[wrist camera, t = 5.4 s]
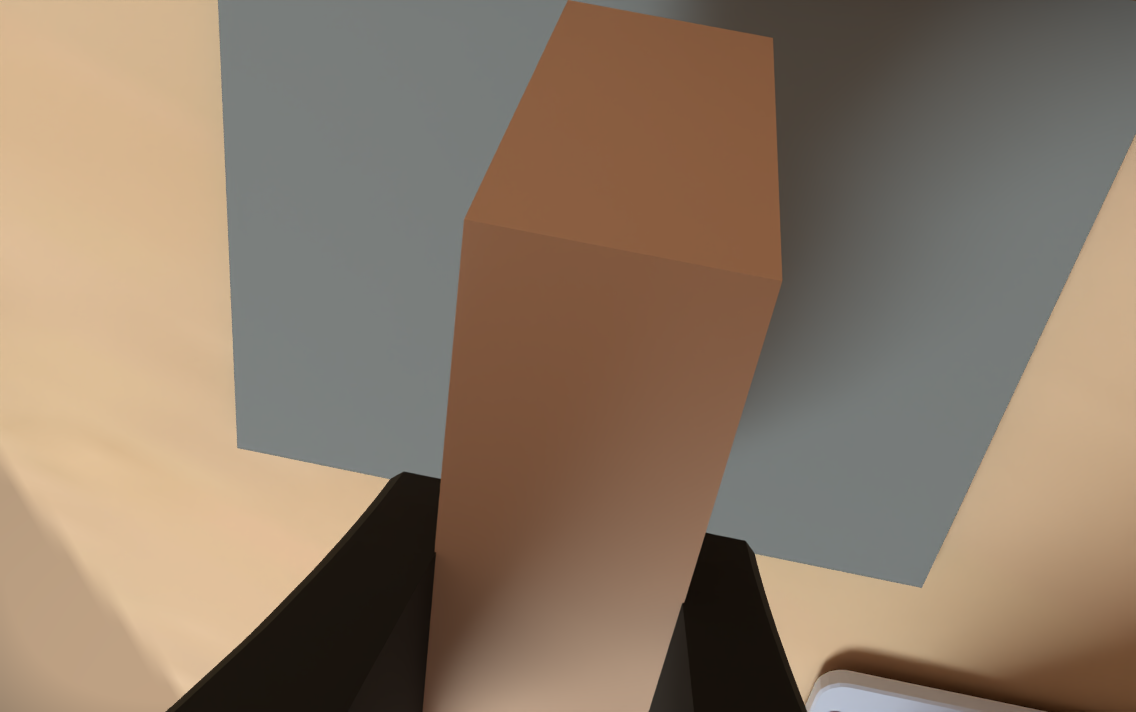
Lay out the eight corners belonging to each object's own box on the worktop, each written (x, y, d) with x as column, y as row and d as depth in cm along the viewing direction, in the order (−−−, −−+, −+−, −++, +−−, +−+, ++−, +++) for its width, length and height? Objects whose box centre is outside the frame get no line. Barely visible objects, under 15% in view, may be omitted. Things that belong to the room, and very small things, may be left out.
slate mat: (918, 571, 18) (922, 587, 18) (246, 433, 19) (237, 447, 18) (1189, -15, 13) (1201, -7, 12) (223, -190, 13) (209, -187, 13)
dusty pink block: (618, 637, 15) (576, 955, 12) (484, 610, 16) (401, 918, 12) (772, 37, 10) (781, 281, 6) (568, -1, 10) (464, 218, 7)
